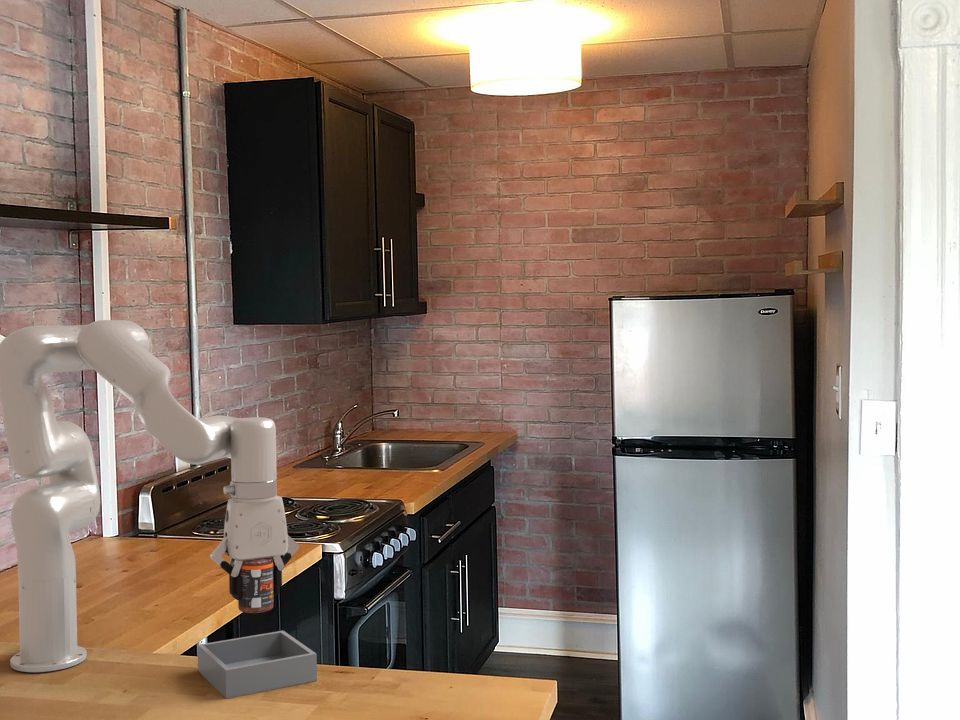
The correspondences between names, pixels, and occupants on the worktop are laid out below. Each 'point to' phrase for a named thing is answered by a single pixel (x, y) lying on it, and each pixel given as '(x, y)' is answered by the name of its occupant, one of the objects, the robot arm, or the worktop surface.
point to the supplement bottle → (256, 585)
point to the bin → (256, 663)
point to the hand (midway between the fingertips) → (256, 594)
